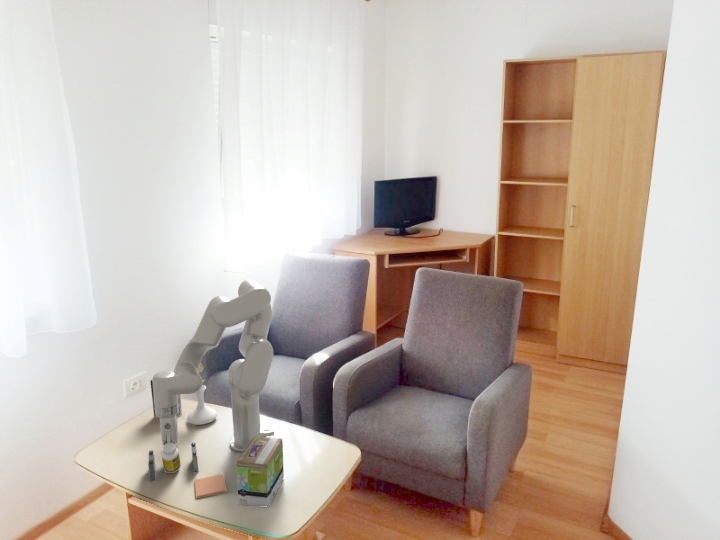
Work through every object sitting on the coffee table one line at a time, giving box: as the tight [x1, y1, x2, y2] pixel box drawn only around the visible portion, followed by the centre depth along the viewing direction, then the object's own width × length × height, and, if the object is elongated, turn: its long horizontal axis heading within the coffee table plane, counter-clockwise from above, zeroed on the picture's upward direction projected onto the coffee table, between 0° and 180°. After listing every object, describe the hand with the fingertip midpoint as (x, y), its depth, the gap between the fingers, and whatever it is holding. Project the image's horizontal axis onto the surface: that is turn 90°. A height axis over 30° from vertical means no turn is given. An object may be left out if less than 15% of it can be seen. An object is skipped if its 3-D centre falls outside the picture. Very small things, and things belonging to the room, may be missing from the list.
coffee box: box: [149, 379, 183, 420], centre depth 216 cm, size 9×6×16 cm
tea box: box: [235, 436, 285, 508], centre depth 168 cm, size 15×10×15 cm, turn 170°
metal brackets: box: [147, 442, 199, 482], centre depth 181 cm, size 15×8×7 cm, turn 110°
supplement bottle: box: [161, 442, 182, 474], centre depth 179 cm, size 5×5×10 cm
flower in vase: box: [186, 362, 218, 426], centre depth 212 cm, size 13×11×25 cm
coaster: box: [194, 473, 227, 499], centre depth 172 cm, size 9×9×1 cm
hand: (170, 458), depth 185 cm, fingers closed
